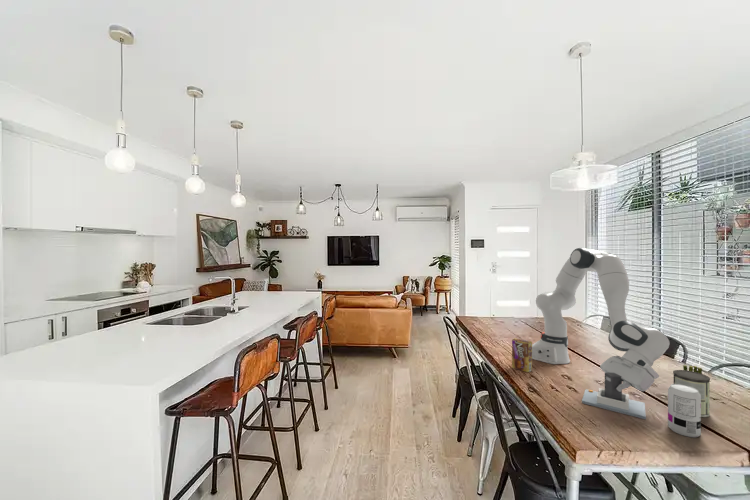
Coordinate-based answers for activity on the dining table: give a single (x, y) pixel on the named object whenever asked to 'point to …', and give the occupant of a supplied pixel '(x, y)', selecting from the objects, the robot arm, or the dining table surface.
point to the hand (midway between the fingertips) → (611, 387)
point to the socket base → (614, 403)
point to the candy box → (522, 355)
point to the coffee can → (695, 386)
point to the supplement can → (684, 410)
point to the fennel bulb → (692, 369)
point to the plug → (612, 386)
